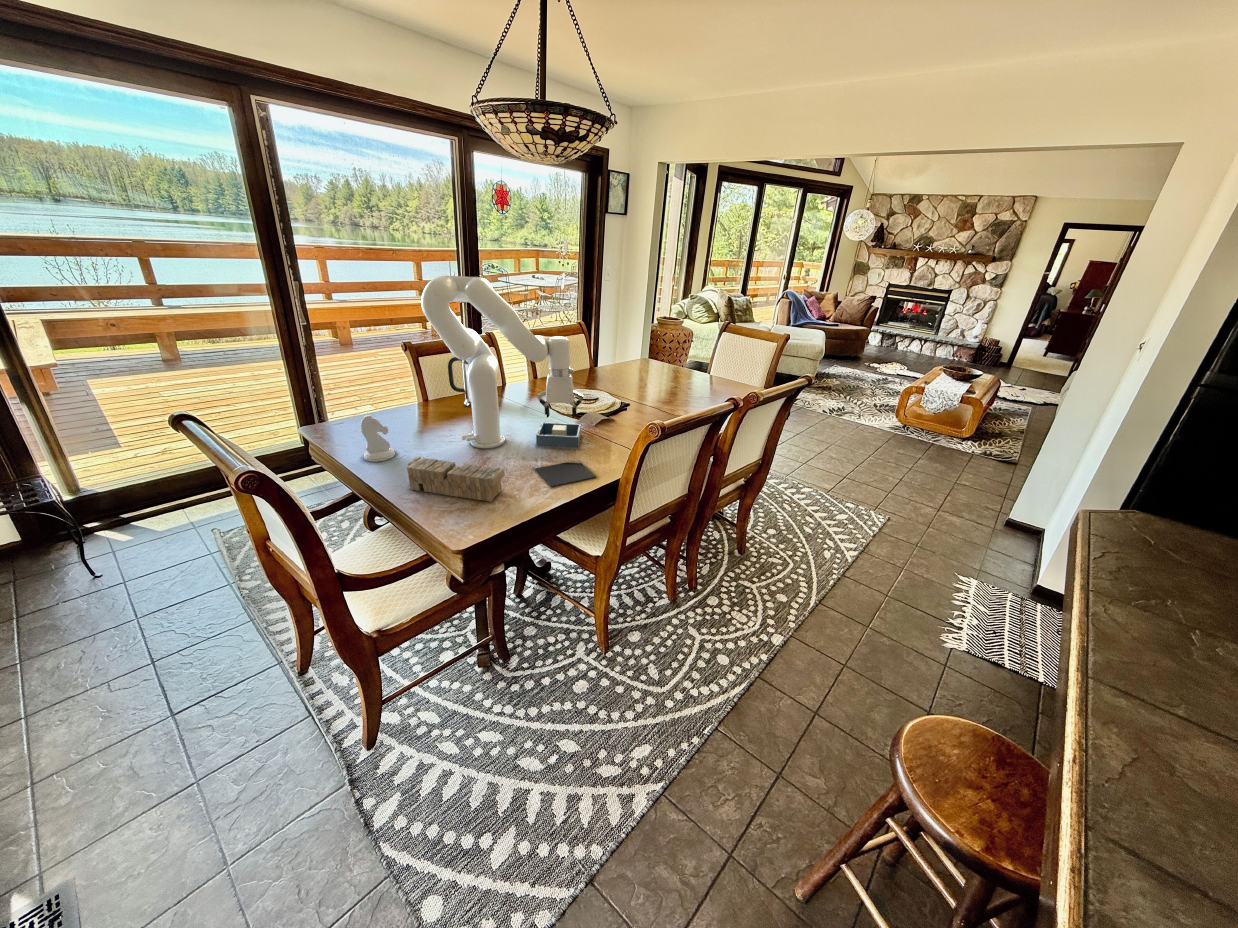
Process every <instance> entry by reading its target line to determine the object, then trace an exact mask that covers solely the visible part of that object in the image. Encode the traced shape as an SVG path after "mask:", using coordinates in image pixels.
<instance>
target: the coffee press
mask: <svg viewBox="0 0 1238 928" xmlns="http://www.w3.org/2000/svg"><path fill="white" fill-rule="evenodd" d="M485 344H486V346H487V347H488V348H489V350H490V351H491V348H490V347H489V345H488V344H487V343H485ZM491 353H492V354H493V352H492V351H491ZM455 362H460V363H461V368H462V376H463V378H462V379H463V387H457V386H456V385H455V380H454V371H453V370H454V369H453V364H454V363H455ZM469 366H470V365H469V364H468V362H467V361H466V360H460V359H458V358H456V357H455V356H453V357H451V358H450V359H449V361H448V363H447V375H448V381H449V386H450V388H451V389H452V390H453V391H455V392H458V393H463V394H464V398H465V400H464V402H463V406H466V407H469V406H470V404H471V396H470V388H469V383H468V369H469Z"/></svg>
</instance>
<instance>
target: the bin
mask: <svg viewBox="0 0 1238 928" xmlns="http://www.w3.org/2000/svg"><path fill="white" fill-rule="evenodd" d="M554 425H565V426H567V436H558V435H552V429H553V426H554ZM581 436H582V424H581V423H568V422H567V423H563V422H542V421H541V423H540V426H539V427H538V430H537V432H536V435H535V441H536V445H535V446H536V447H554V448H577V449H579V446H580V441H581Z"/></svg>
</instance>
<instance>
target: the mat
mask: <svg viewBox="0 0 1238 928" xmlns="http://www.w3.org/2000/svg"><path fill="white" fill-rule="evenodd" d="M535 471H536V472H537V473H538V474H539V475H540V476H541V477H542V478H543V480H544V481H545V482H546V483H547V484H548V485H549V486H550V488H554V487H558V486H564V485H568V484H573V483H578V482H582V481H587V480H592V479H596V478H597V476H596V475H595V474H594V473H593V472H592V471H591V470H590V469H588V467H587V466H585V465H584V464H583V463H582V462H562V463H556V464H552V465H546V466H541V467H535Z"/></svg>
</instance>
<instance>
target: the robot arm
mask: <svg viewBox="0 0 1238 928" xmlns="http://www.w3.org/2000/svg"><path fill="white" fill-rule="evenodd" d="M452 302H455V303H469V304H471V306H472V307H474V308H475V309H476V310H477V312H479V313H480V314H482V315H483V317H484V318H486V319H487V320H488V321H489V322H490V323H491V324H492V325H493V326H495V328H497V330H498V331H499V332H500V333H501V334H502V335H503V336H504V337H505V338H506V339H507V341H508V342H509V343H510V344H511V345H512V346H513V347H514V348H515V349H516V350H517V351H519V352H520V353H521V354H522V355H523V356H524V357H525V358H526V359H528V360H529V361H531V362H533V363H541V362H543V361H545V360H546V359H547V358H548V374H547V376H546V384H545V386H546V387H545V390H543V391H541V392H539V393H537V394H536V398H537V400H538V401H539V403H540V404H541V405H542V406H543V408H544V415H545V416H546V419H547V418H549V417H550V412H551V411H550V404H570V405H571V406H572V407H571V419H575V417H576V416H577V407H579V406H580V405H581V404H582V401H583V399H584V397H585V396H584V394H582V393H579V392H578V391H576V390H575V383H574V378H573V375H572V374H574V373H575V369H574V368H571V362H570V361H571V360H570V357H571V356H570V354H571V353H570V352H571V351H570V340H569V339H568V337H565V336H544V335H535V334H533V332H532V331H531V330H530V329H529V328H528V327H527V325H525V324H524V322H523V321H522V320H521V318H520V316H519V314H518V313H517V312H516V310H515V309H514V308H513V307H512V306H511V305H510V303H508V302H507V301H506V300H505V299H503V297H501V296H500V295H499V294H498V293H497V292H496V291H495V290H494V288H493V286H492V283H491V282H490V281H489V280H487V278H484V277H481V276H460V275H458V276H457V275H440V276H437V277H435V278H433V279H431V280H429V282H428V283H427V284H426V285H425V287H424V289H423V291H422V294H421V298H420V303H421V310H422V312H423V314H424V316H425V318H426V320H427V321H428V322H429V324H430V325H431V326H432V328H433V329H434V330H435V332H436V334H438V336H439V337H440V339H441V340H442V341H443V343H444V344H445V346H446V347H447V348H448V350H449V351H450V353H451V354H452V355H453V357H456V358H458V359H460V360H466V361H467V362H468V364H469V365H470V366H469V369H468V383H469V388H470V396H471V403H470V404H471V414H472V429H473V430H472V429H471V432H469V433H468V434H460V439H461V441H466V442H469V443H470V445H471V446H473V447H474V448H478V449H494V448H498V447H500V446H502V445H503V444H505V442H506V439H505V436H504V435H503V434H501V424H500V423H501V422H500V412H499V411H500V409H499V393H498V385H497V384H498V383H497V375H498V371H499V363H498V360H497V358H496V357H495V355H494V354H493V352H492V351H491V349H490V350H489V348H490V347H489V346H488V347H489V348H488V347H487V346H486V344H487V343H486V342H485V341H484V340H483V339H482V337H481V336H480V335H479V334H478V333H477V331H475V330H474V329H472V328H470V327H465V326H464V325H463V324H462V322H461V320H460V319H459V317H458V316H457V315H456V314H455V313H454V311H452V309H451V307H450V304H451V303H452ZM491 352H492V353H491ZM544 396H545V399H546V400H545V399H543V397H544ZM575 397H576V398H578V400H575Z"/></svg>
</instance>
